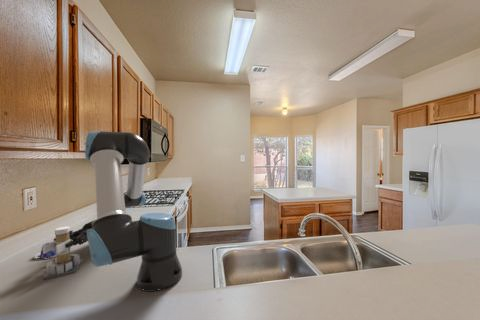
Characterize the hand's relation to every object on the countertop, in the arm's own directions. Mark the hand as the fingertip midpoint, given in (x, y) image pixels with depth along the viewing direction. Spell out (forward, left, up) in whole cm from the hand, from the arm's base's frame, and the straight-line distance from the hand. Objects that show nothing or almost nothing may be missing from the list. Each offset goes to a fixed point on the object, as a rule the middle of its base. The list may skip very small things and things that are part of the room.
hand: (50, 249), depth 79 cm
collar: (+5, -3, -10) cm, 12 cm away
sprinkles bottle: (+5, -3, -7) cm, 9 cm away
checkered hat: (+26, +7, -11) cm, 29 cm away
